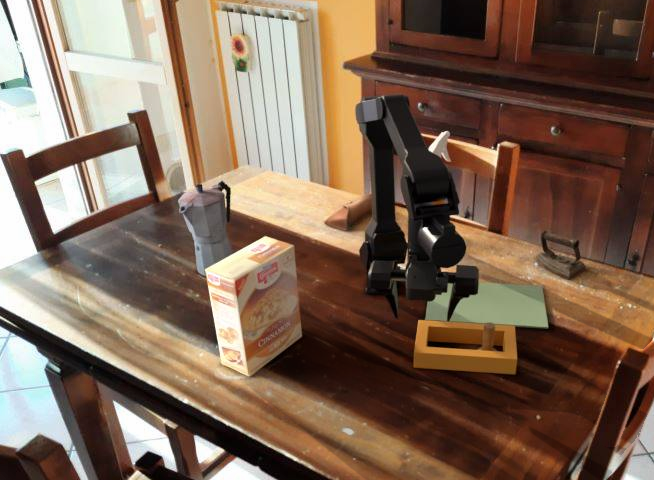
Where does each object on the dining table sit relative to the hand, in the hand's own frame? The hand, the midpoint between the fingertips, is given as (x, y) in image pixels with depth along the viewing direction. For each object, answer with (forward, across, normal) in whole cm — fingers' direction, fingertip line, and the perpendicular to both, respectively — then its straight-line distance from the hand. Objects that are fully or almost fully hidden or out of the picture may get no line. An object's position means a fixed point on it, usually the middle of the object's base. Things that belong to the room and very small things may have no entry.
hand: (422, 318), depth 117 cm
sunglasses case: (+7, -22, +58) cm, 62 cm away
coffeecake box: (+7, -29, -3) cm, 30 cm away
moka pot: (+7, -48, +27) cm, 56 cm away
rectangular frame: (+7, +8, 0) cm, 11 cm away
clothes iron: (+7, +28, +36) cm, 46 cm away
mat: (+7, +12, +18) cm, 23 cm away
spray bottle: (+7, 0, +44) cm, 45 cm away
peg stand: (+7, +12, 0) cm, 14 cm away
